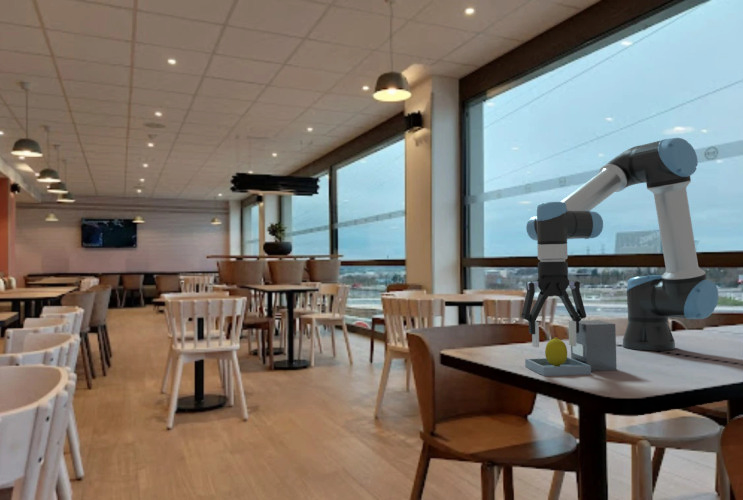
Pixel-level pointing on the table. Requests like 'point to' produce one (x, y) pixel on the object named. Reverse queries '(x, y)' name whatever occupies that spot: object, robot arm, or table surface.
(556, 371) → the dish
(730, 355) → the table surface
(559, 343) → the lemon
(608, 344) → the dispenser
